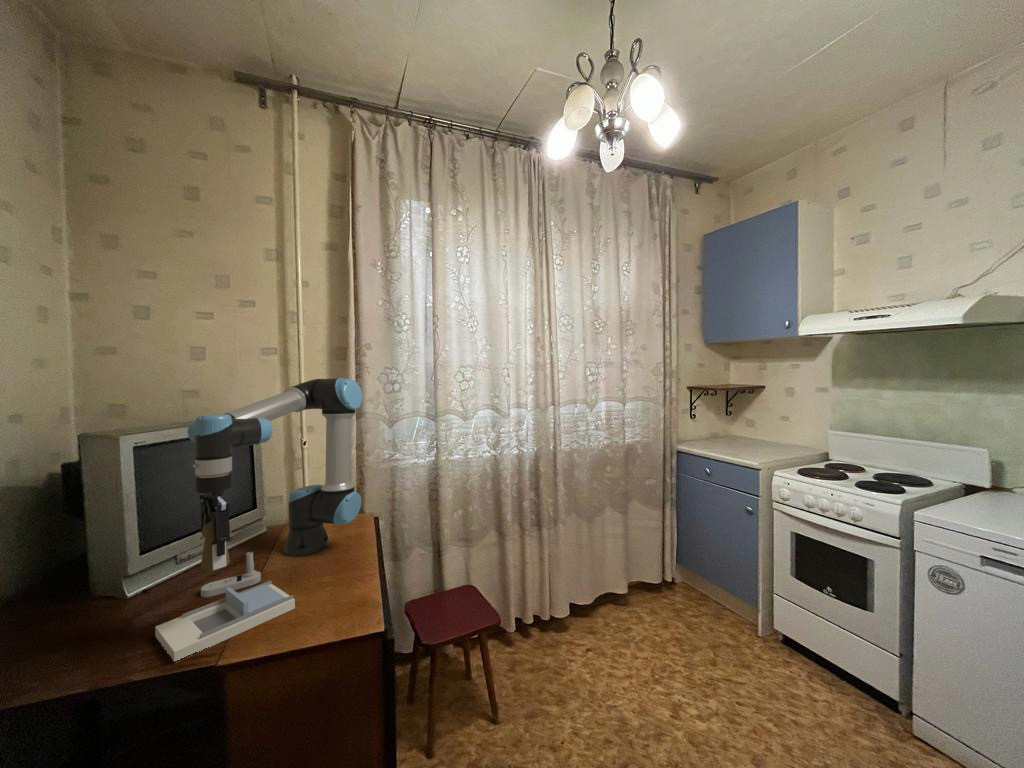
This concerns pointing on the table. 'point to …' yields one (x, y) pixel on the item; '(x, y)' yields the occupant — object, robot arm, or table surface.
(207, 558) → the cork
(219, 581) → the electronic device
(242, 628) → the socket plate
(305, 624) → the table surface
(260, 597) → the panel
